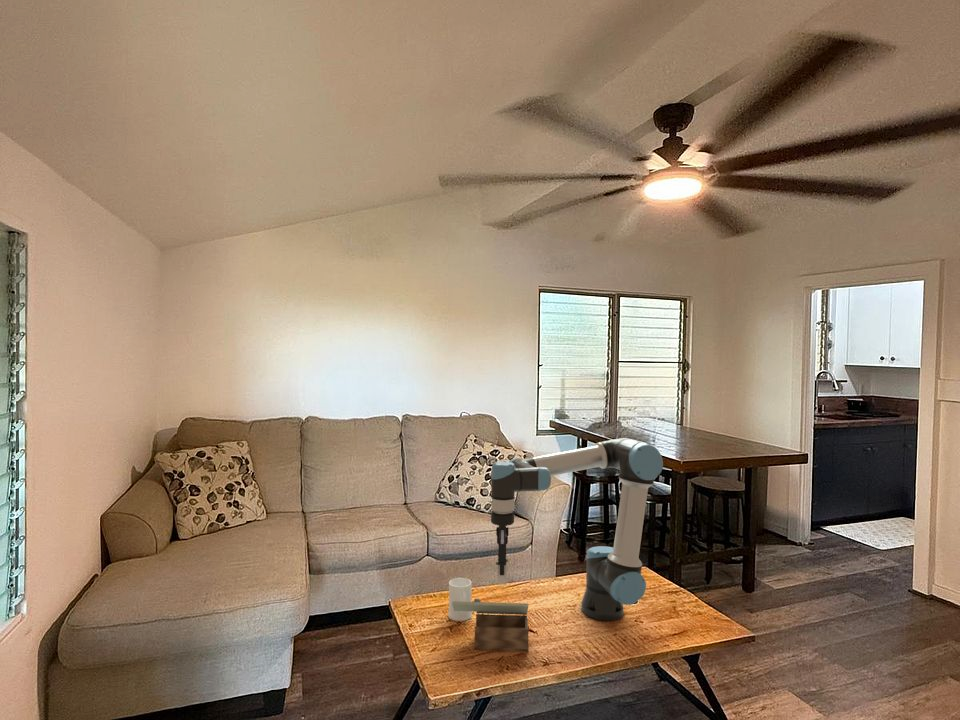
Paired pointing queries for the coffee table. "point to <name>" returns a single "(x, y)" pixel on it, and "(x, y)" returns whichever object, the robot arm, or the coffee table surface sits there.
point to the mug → (459, 598)
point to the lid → (491, 607)
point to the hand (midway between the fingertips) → (501, 583)
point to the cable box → (501, 632)
